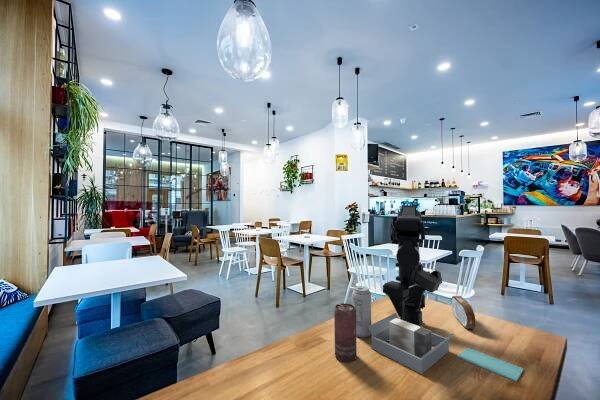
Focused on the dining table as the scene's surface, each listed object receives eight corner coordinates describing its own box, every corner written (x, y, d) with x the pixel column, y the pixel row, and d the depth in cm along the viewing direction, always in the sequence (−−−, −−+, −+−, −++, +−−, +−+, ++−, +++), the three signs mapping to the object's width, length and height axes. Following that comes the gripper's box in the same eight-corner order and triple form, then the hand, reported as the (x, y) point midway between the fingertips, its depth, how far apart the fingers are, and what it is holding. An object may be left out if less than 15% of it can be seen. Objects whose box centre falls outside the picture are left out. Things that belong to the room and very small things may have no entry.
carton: (366, 346, 80) (366, 326, 80) (395, 329, 90) (395, 312, 90) (428, 377, 66) (428, 353, 66) (455, 353, 76) (455, 332, 76)
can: (342, 347, 79) (341, 300, 80) (360, 356, 75) (360, 306, 75) (329, 355, 75) (329, 306, 75) (348, 365, 71) (347, 313, 71)
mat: (457, 357, 74) (457, 356, 74) (467, 348, 78) (467, 347, 78) (516, 381, 64) (516, 380, 64) (523, 370, 68) (523, 368, 68)
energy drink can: (374, 336, 86) (374, 290, 86) (357, 339, 84) (357, 292, 84) (366, 328, 91) (365, 284, 92) (349, 330, 90) (349, 286, 90)
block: (389, 344, 81) (389, 321, 81) (396, 340, 84) (396, 317, 84) (425, 361, 72) (424, 335, 72) (431, 355, 75) (431, 330, 75)
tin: (476, 333, 87) (476, 307, 87) (466, 332, 88) (465, 307, 88) (459, 314, 102) (458, 292, 102) (450, 313, 103) (449, 292, 103)
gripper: (419, 270, 66) (420, 333, 66) (451, 259, 78) (451, 313, 78) (381, 263, 75) (381, 318, 75) (414, 254, 86) (415, 302, 86)
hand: (409, 313), depth 78 cm, fingers open, 9 cm apart
